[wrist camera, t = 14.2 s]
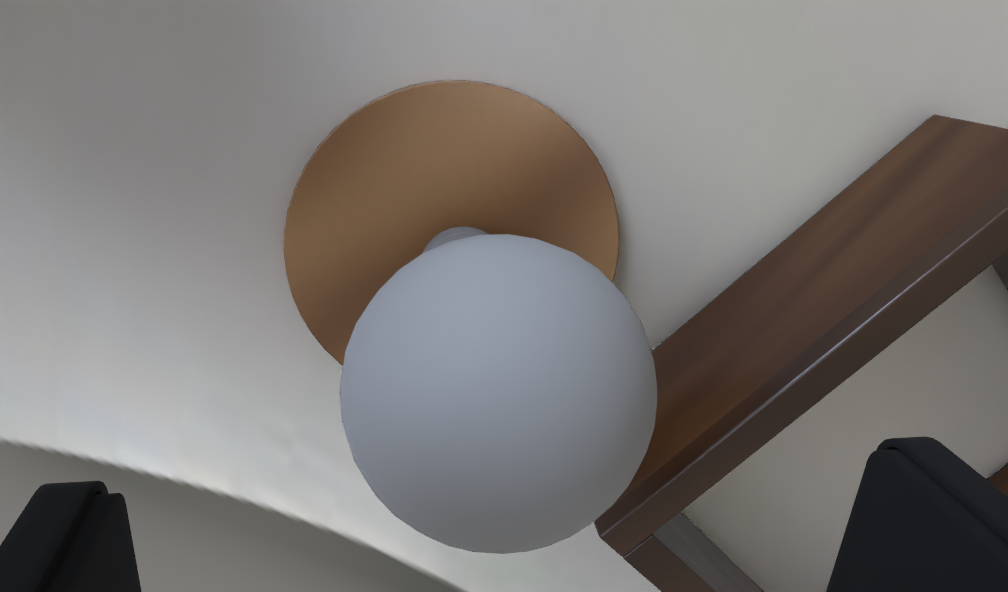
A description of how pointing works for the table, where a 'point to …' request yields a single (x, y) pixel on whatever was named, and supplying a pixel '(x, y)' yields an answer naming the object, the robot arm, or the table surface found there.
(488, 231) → the coaster
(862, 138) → the table surface
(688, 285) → the table surface
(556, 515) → the lightbulb
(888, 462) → the robot arm
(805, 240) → the wooden frame
